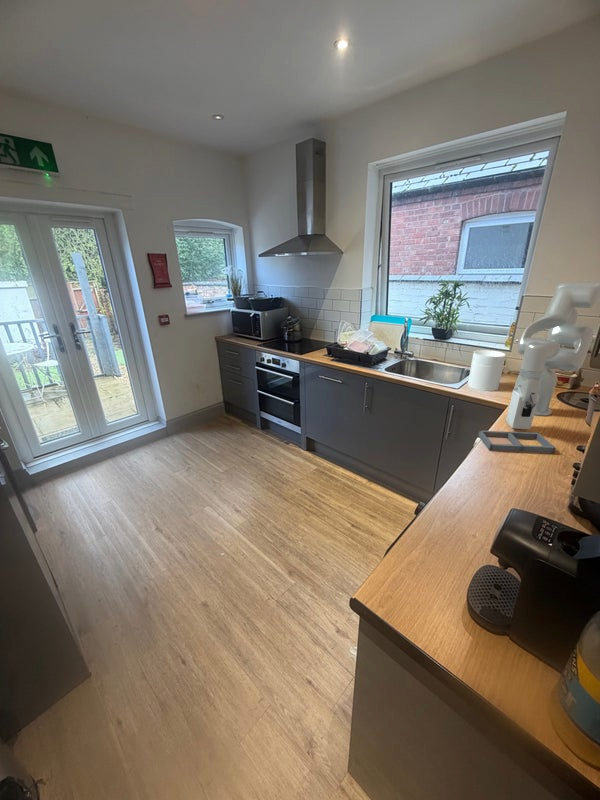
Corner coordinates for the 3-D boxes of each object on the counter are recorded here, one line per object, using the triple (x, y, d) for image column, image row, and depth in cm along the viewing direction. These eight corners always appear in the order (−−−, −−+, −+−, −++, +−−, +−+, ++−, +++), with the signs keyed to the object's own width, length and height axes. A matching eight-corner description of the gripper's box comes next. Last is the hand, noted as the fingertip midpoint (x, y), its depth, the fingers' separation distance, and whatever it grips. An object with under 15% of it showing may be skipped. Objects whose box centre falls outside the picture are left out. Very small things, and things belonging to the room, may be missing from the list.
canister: (499, 384, 194) (506, 351, 186) (497, 393, 181) (505, 358, 174) (469, 380, 202) (475, 348, 194) (465, 388, 189) (472, 354, 182)
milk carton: (530, 429, 138) (541, 388, 131) (511, 428, 140) (521, 387, 132) (523, 421, 145) (533, 381, 137) (505, 421, 146) (514, 381, 138)
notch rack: (477, 435, 137) (478, 430, 136) (537, 438, 134) (538, 432, 133) (489, 450, 126) (490, 444, 125) (554, 453, 123) (555, 447, 122)
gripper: (511, 366, 141) (502, 403, 148) (531, 380, 125) (521, 421, 132) (529, 366, 140) (520, 404, 147) (552, 380, 124) (541, 421, 131)
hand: (520, 412), depth 140 cm, fingers closed on milk carton, 7 cm apart
